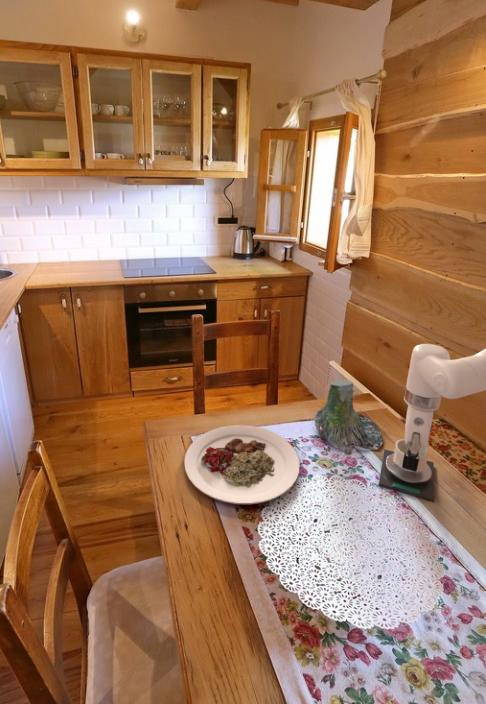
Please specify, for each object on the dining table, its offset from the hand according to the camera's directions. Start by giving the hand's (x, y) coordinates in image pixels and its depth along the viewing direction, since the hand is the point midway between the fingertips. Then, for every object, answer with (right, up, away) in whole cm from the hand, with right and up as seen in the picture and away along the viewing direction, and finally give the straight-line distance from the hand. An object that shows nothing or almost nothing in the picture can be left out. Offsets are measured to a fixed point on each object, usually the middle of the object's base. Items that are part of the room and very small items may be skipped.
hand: (409, 458), depth 100 cm
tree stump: (-10, +1, +20) cm, 22 cm away
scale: (0, -6, +2) cm, 6 cm away
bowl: (0, -1, +1) cm, 1 cm away
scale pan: (0, -4, +1) cm, 4 cm away
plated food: (-41, -4, +7) cm, 42 cm away
